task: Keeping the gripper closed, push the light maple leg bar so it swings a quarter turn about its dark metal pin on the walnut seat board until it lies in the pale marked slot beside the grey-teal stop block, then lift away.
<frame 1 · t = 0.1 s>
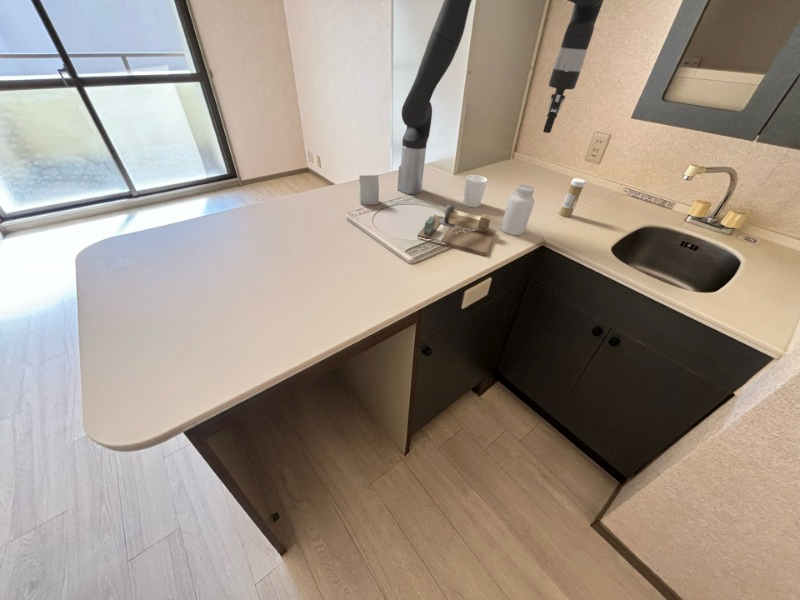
hand: (547, 130, 104), 29 cm above the worktop, fingers open, 8 cm apart
stool leg: (467, 218, 107), point 4 cm above the worktop, hinge at 0.0°
white cup: (471, 204, 128), on the worktop
sprinkles bottle: (564, 215, 126), on the worktop
seat board: (457, 235, 106), on the worktop
grey upright block: (368, 202, 122), on the worktop
pill bottle: (512, 230, 112), on the worktop
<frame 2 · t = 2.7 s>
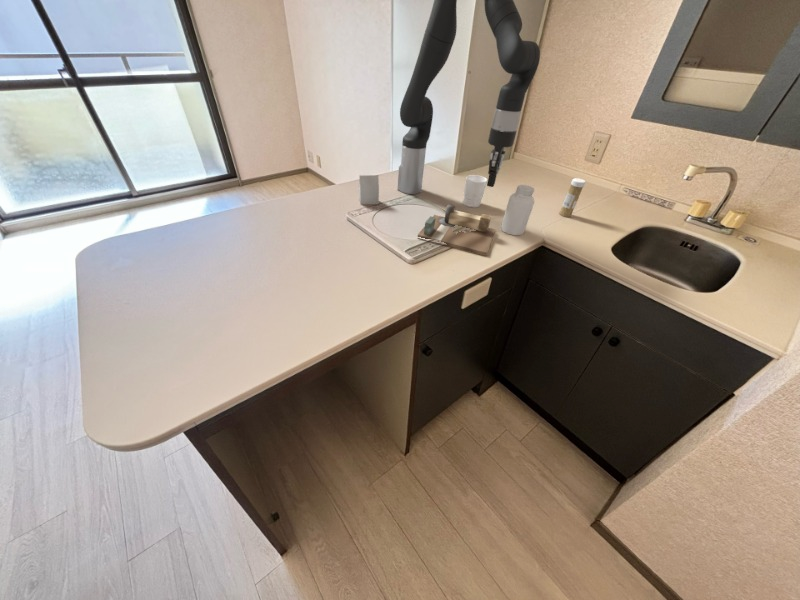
hand: (490, 185, 106), 13 cm above the worktop, fingers closed
nothing on the worktop moved.
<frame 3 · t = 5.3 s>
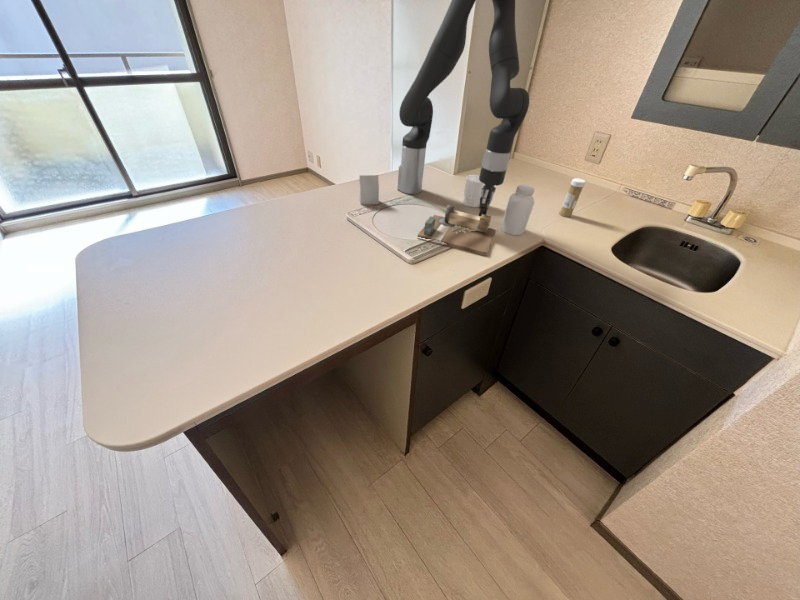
hand: (481, 219, 109), 4 cm above the worktop, fingers closed
stool leg: (466, 218, 107), point 4 cm above the worktop, hinge at -1.5°, touching gripper
everything else where it was.
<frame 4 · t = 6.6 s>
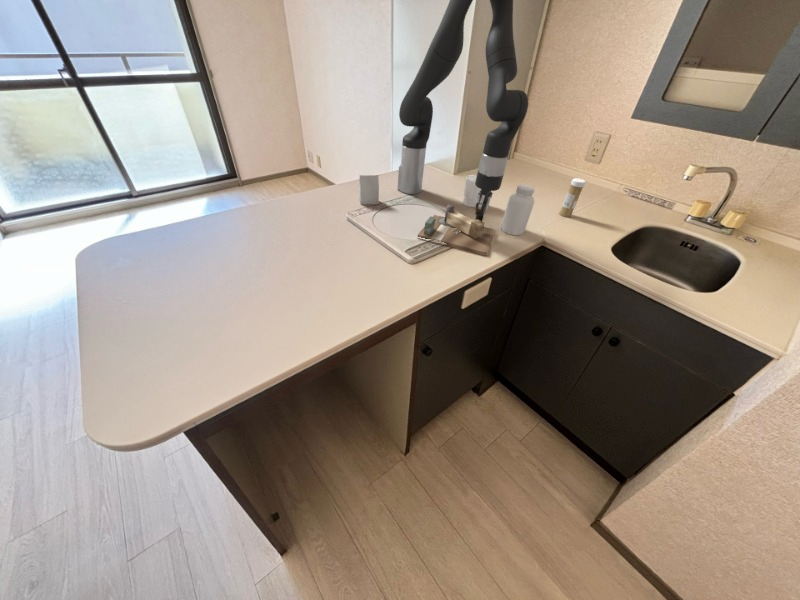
hand: (477, 224, 106), 4 cm above the worktop, fingers closed
stool leg: (462, 220, 105), point 4 cm above the worktop, hinge at -28.1°, touching gripper
everything else where it was.
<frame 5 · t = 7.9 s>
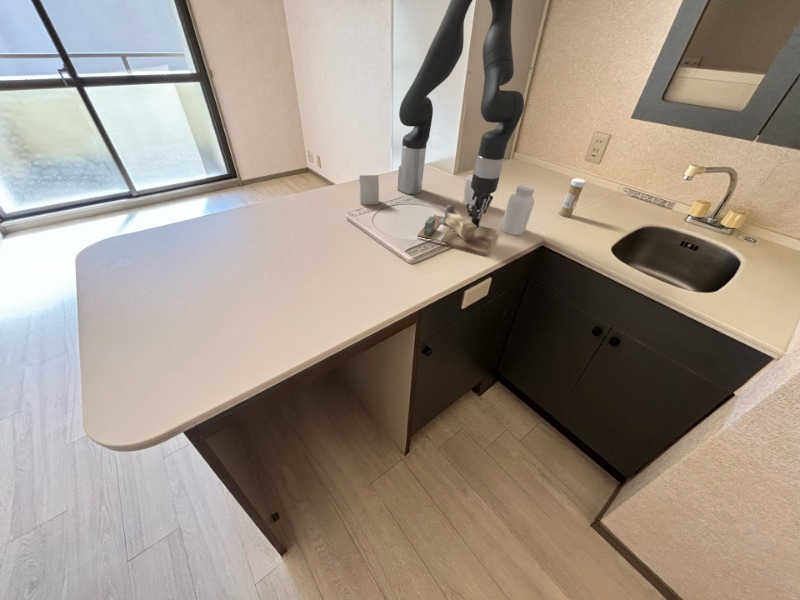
hand: (474, 228, 104), 4 cm above the worktop, fingers closed
stool leg: (458, 221, 104), point 4 cm above the worktop, hinge at -44.2°, touching gripper
everything else where it was.
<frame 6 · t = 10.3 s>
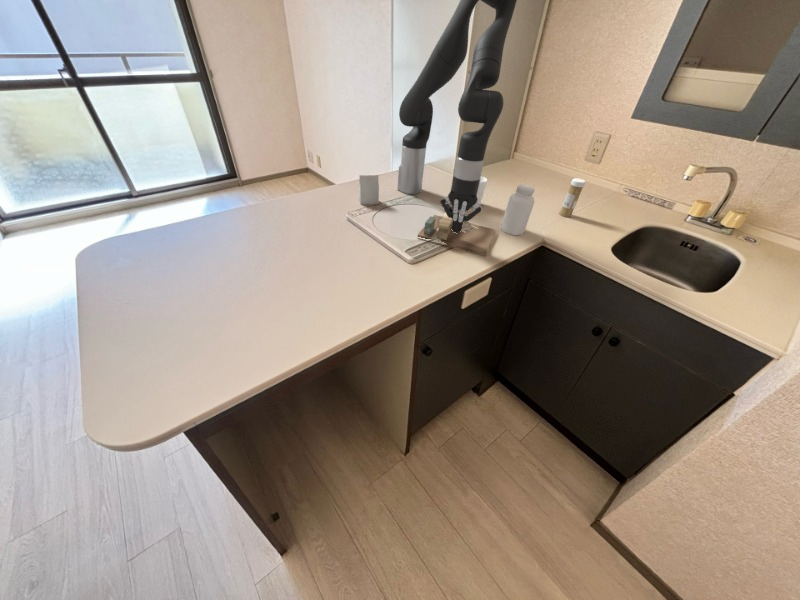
hand: (456, 231, 101), 4 cm above the worktop, fingers closed
stool leg: (446, 221, 104), point 4 cm above the worktop, hinge at -82.2°, touching gripper
everything else where it was.
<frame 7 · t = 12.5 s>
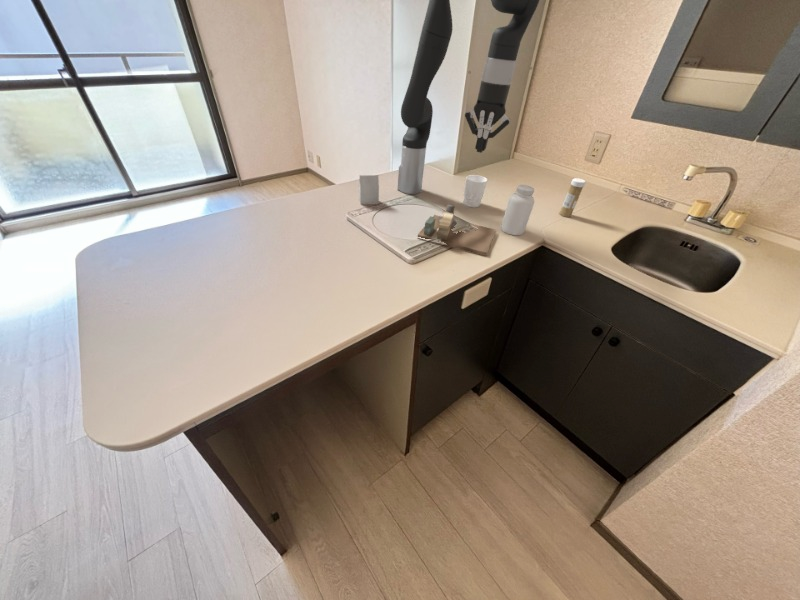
hand: (479, 151, 95), 25 cm above the worktop, fingers closed
stool leg: (446, 221, 104), point 4 cm above the worktop, hinge at -82.2°
everything else where it was.
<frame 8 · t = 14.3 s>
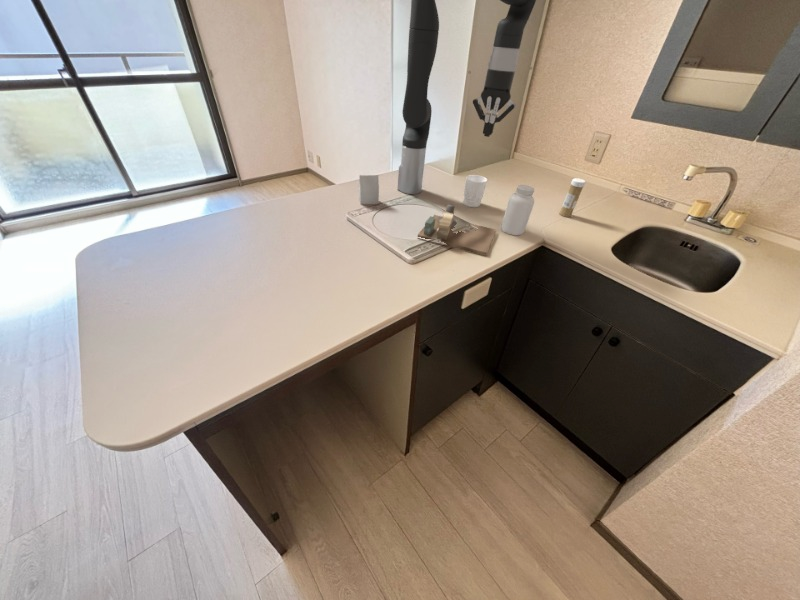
hand: (486, 136, 101), 27 cm above the worktop, fingers closed
nothing on the worktop moved.
at the end: stool leg at -82° (first picture: +0°) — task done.
